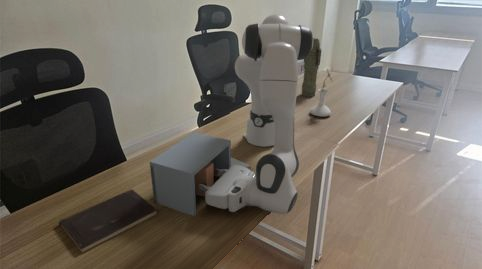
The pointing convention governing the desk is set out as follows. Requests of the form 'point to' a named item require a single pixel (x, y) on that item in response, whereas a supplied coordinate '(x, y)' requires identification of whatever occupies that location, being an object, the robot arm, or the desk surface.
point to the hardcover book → (107, 219)
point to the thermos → (311, 70)
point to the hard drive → (238, 163)
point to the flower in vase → (322, 102)
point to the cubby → (186, 169)
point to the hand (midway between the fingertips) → (207, 178)
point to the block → (204, 178)
